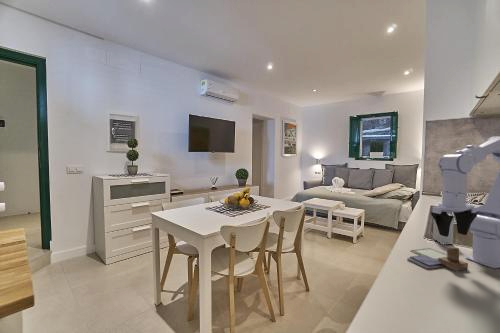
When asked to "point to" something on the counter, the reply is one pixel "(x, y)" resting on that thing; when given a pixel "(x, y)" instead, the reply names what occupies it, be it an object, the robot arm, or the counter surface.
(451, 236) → the skincare box
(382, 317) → the counter surface
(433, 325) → the counter surface
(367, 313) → the counter surface
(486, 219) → the robot arm
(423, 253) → the pale green flat square
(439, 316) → the counter surface
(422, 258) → the ink pad
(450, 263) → the stamp
